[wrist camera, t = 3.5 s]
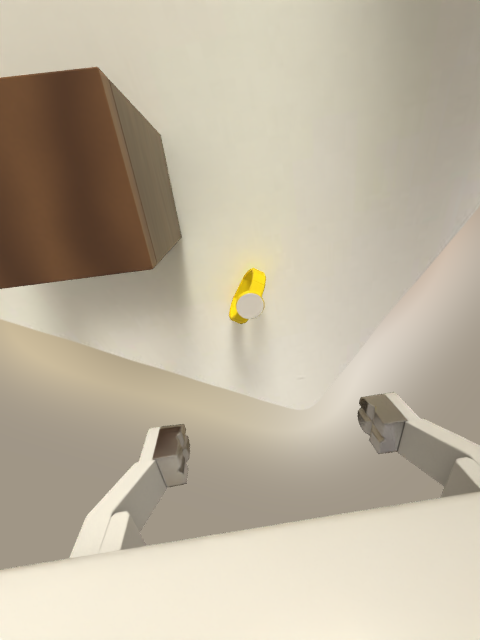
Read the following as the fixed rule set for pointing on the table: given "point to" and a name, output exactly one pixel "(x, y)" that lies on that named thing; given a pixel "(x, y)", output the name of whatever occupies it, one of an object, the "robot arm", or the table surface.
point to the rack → (79, 181)
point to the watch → (248, 297)
